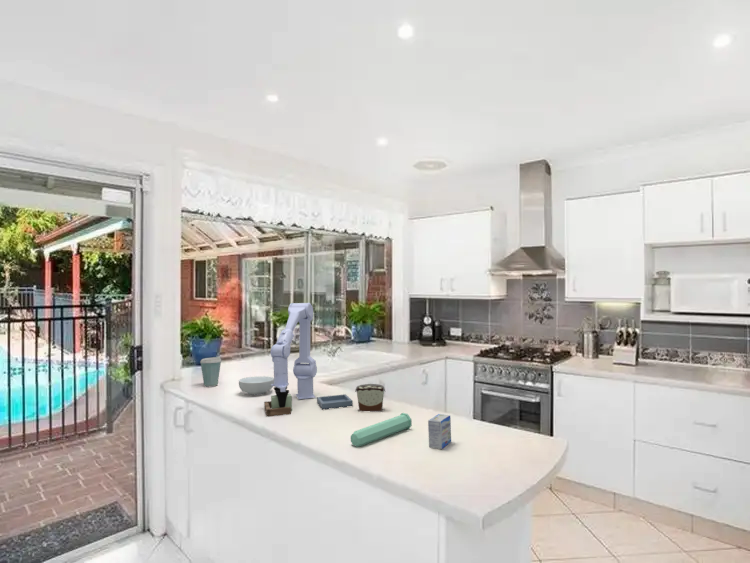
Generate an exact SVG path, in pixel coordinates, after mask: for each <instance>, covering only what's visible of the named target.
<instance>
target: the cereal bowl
mask: <svg viewBox="0 0 750 563" xmlns="http://www.w3.org/2000/svg"><path fill="white" fill-rule="evenodd" d="M271 384H274V376H269V375H267V376H266V375H258V376H257V375H256V376H255V375H254V376H247V377H242V378H240V379H239V380H238V386H239V387H238V388H239V389H240V390H241V391H242V392H244V393H246V394H248V395H249V396H260V395H261V396H262V395H264V394H266V393H267V392H269V391H271V390H272V389H273V388H274V386H271Z"/></svg>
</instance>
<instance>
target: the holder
mask: <svg viewBox="0 0 750 563" xmlns="http://www.w3.org/2000/svg"><path fill="white" fill-rule="evenodd" d="M263 403H264V404H263V405H264V407H263V408H264V412H265V411H266V412H265V415H266V417H267V416H268V417H275V416H274V415H277V416H283V414H286V415H291V414H292V411H291V407H284V408H274V409H271V400H269V401H264V402H263Z"/></svg>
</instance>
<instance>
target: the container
mask: <svg viewBox="0 0 750 563" xmlns="http://www.w3.org/2000/svg"><path fill="white" fill-rule="evenodd" d="M412 423H413V422H412V418H411V416H410V414H408V413H405V412H402V413H401V414H400V415H396V416H394V417H391V418H388V419H385V420H382V421H380V422H377V423H374V424H372V425H368V426H365V427H363V428H360V429H356V430H355V431H354V432H352V434H351V435H350V442H351V444H352V446H354V447H357V448H359V447H361V446H364V445H367V444H371V443H373V442H375V441H378V440H381V439H383V438H387V437H389V436H392V435H394V434H396V433H399V432H402V431H404V430H410V428H411V427H412V426H413V425H412Z"/></svg>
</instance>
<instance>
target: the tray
mask: <svg viewBox="0 0 750 563" xmlns="http://www.w3.org/2000/svg"><path fill="white" fill-rule="evenodd" d="M316 403H317V405H318V404H319V405H318V406H319V407H320V409H321V408H322V409H325V410H330V409H329V408H334V409H340V408H339V407H343V408H348V407H347V406H354V405H353V400H352V398H350V397H349V396H348V394H346V393H345V394H344V393H343V394H334V395H326V396H325V395H324V396H318V397H316ZM322 409H321V410H322Z"/></svg>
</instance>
